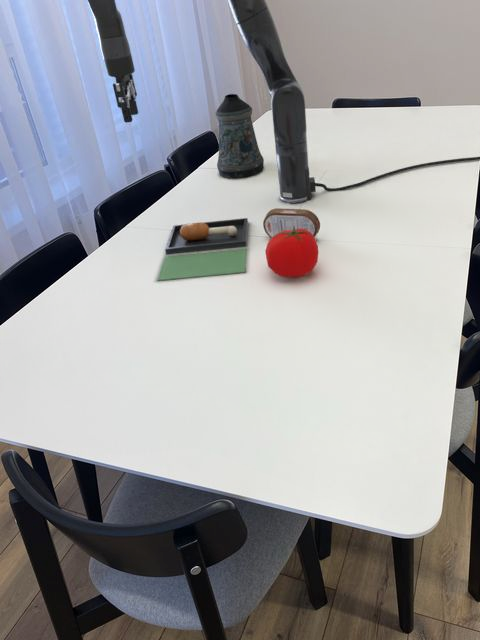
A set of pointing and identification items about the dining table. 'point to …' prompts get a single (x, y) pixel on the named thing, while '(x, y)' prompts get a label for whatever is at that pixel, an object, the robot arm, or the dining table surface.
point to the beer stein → (237, 140)
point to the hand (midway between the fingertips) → (131, 118)
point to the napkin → (203, 264)
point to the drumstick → (204, 231)
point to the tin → (290, 221)
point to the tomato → (292, 253)
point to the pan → (209, 238)
